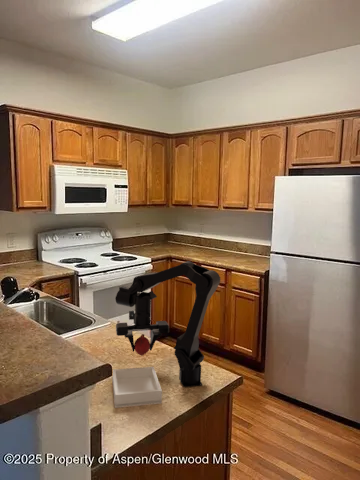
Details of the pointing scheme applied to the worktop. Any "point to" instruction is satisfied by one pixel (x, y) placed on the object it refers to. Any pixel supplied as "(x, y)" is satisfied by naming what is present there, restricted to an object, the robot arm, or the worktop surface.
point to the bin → (136, 387)
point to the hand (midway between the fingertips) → (142, 350)
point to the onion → (142, 345)
